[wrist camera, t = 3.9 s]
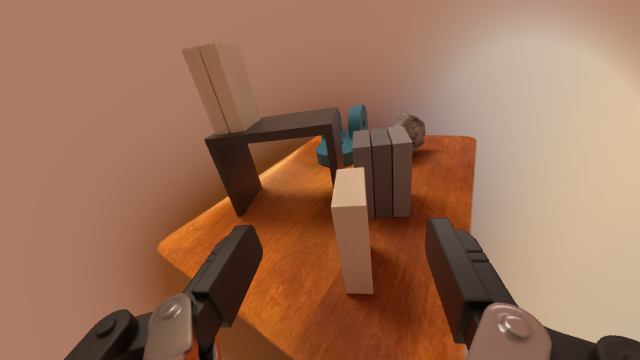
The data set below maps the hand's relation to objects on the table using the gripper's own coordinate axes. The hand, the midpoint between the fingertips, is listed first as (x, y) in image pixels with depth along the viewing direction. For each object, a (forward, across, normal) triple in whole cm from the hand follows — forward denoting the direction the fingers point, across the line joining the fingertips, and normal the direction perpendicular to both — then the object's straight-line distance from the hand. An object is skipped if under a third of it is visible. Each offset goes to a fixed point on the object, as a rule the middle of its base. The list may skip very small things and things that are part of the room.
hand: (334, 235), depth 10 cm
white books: (+28, +19, +1) cm, 33 cm away
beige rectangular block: (+11, 0, +16) cm, 20 cm away
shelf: (+28, +13, +16) cm, 34 cm away
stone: (+42, -11, +16) cm, 46 cm away
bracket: (+48, +4, +16) cm, 51 cm away
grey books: (+24, -4, +16) cm, 29 cm away
